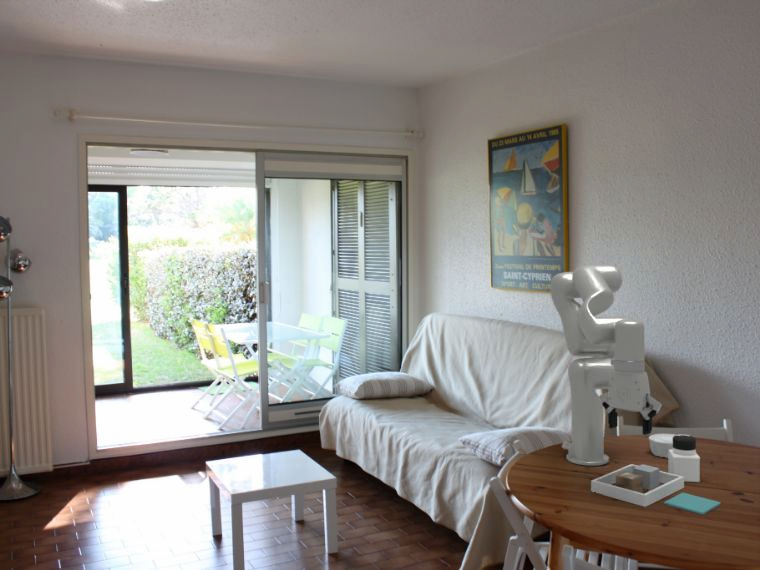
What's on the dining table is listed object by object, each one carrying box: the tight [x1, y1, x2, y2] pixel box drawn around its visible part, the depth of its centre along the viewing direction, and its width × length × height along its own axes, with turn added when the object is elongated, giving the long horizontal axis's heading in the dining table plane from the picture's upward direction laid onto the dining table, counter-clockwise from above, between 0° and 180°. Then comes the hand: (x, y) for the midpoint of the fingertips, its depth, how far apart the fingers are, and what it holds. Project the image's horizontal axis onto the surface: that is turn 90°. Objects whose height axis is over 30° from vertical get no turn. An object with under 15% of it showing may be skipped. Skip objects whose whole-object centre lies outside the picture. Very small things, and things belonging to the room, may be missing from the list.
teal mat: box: [663, 492, 722, 516], centre depth 182 cm, size 10×10×1 cm
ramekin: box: [648, 433, 677, 459], centre depth 225 cm, size 11×11×5 cm
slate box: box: [633, 463, 661, 491], centre depth 197 cm, size 5×5×5 cm
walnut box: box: [615, 471, 644, 494], centre depth 191 cm, size 5×5×5 cm
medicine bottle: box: [667, 434, 701, 483], centre depth 202 cm, size 7×7×12 cm
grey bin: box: [590, 463, 685, 508], centre depth 194 cm, size 16×21×3 cm
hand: (629, 430), depth 190 cm, fingers open, 9 cm apart
